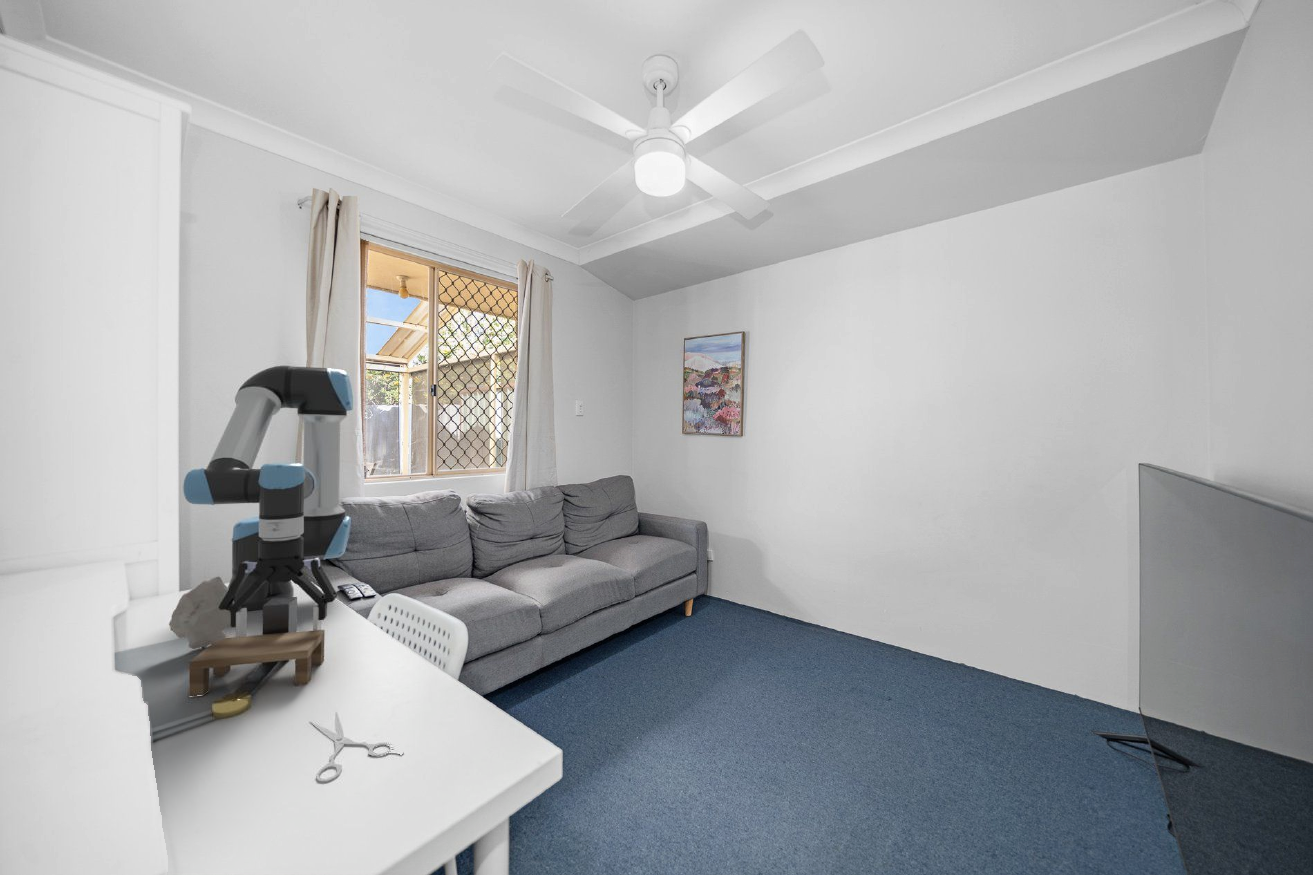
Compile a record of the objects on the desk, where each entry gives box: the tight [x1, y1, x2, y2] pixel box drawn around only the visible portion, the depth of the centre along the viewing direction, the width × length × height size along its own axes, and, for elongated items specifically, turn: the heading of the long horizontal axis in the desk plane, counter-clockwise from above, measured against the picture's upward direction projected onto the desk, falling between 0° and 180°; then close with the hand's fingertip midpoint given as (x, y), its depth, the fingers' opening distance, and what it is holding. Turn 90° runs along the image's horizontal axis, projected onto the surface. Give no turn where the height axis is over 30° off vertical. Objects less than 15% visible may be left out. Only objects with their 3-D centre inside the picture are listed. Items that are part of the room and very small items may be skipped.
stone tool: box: [168, 576, 231, 650], centre depth 108 cm, size 11×4×15 cm, turn 132°
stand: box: [188, 629, 325, 697], centre depth 96 cm, size 10×18×6 cm, turn 108°
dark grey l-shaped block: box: [231, 596, 298, 701], centre depth 97 cm, size 20×4×12 cm, turn 18°
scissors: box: [308, 711, 394, 784], centre depth 78 cm, size 11×1×20 cm
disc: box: [211, 692, 252, 720], centre depth 85 cm, size 5×5×2 cm
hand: (279, 638), depth 104 cm, fingers open, 13 cm apart
